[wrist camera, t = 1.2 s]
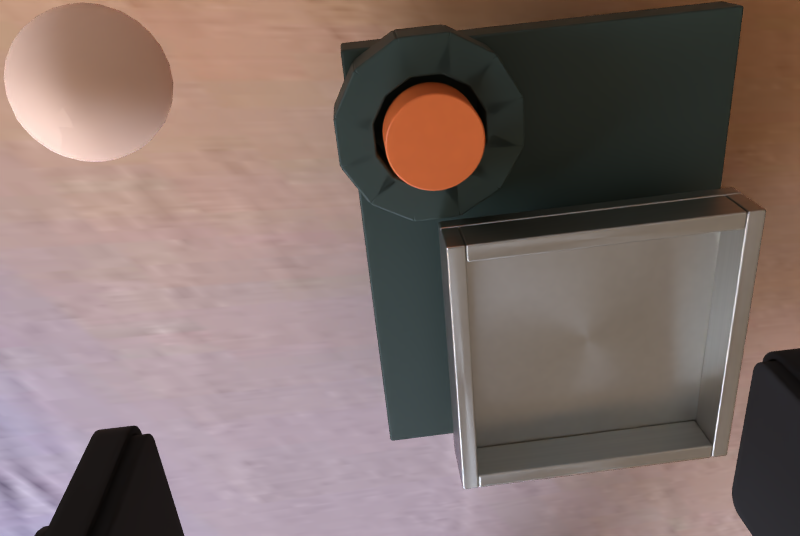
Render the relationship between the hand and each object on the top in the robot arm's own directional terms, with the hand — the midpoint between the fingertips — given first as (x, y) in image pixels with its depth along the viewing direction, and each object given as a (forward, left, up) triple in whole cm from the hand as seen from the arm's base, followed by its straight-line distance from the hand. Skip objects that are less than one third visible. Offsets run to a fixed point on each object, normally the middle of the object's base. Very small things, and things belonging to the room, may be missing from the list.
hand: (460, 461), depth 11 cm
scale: (+4, +5, -16) cm, 17 cm away
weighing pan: (+6, +6, -13) cm, 16 cm away
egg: (-4, -9, -16) cm, 19 cm away
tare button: (-2, +1, -13) cm, 13 cm away
